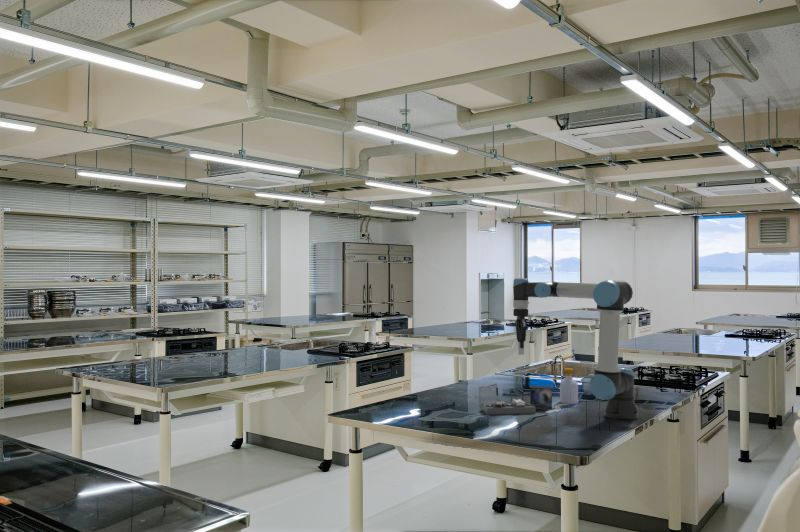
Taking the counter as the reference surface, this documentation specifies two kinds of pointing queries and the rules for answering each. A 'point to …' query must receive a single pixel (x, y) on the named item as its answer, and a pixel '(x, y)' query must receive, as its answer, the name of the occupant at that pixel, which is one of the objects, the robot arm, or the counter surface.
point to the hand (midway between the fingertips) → (521, 354)
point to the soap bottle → (568, 387)
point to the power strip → (510, 408)
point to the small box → (541, 396)
